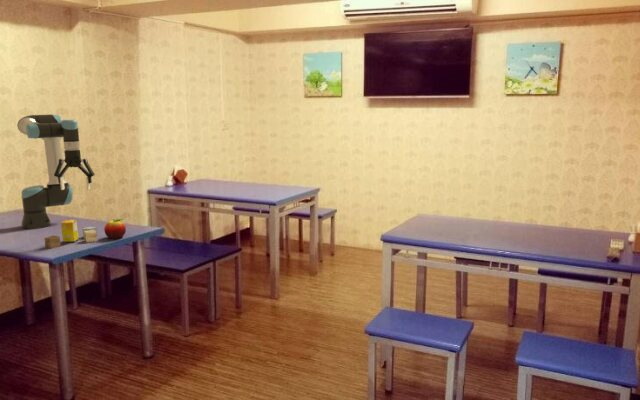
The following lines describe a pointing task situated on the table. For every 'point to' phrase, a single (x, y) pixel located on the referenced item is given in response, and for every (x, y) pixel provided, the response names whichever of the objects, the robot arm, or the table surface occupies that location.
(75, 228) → the supplement box
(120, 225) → the fruit
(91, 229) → the sage-green cube
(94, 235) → the maple cube
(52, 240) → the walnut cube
